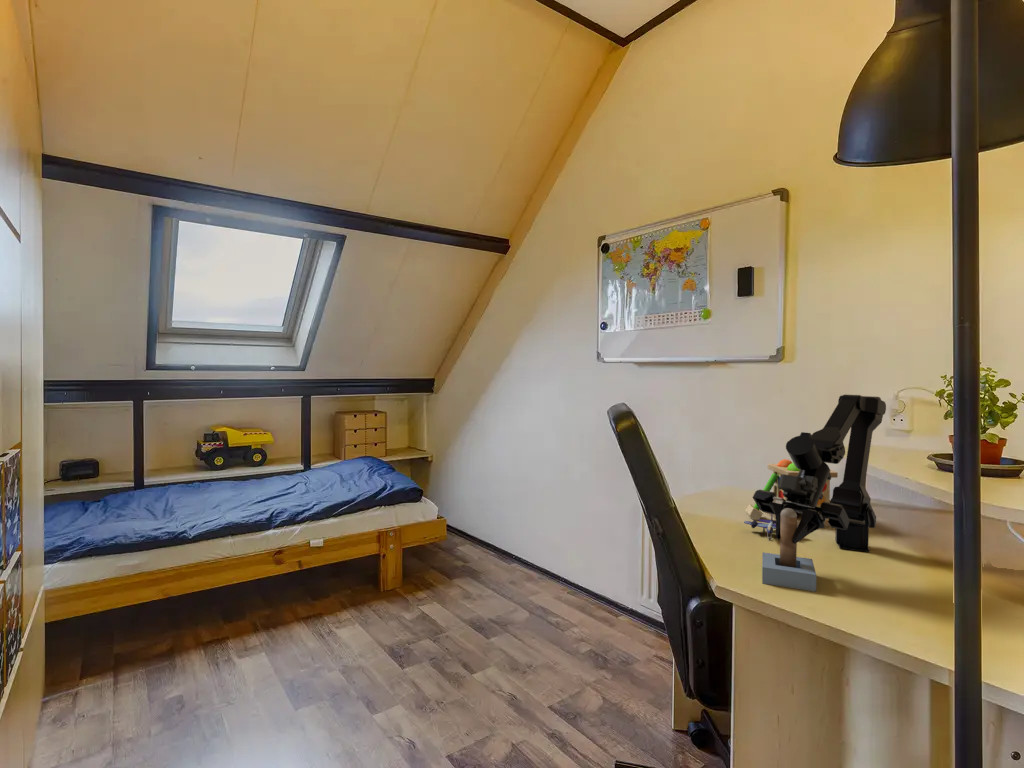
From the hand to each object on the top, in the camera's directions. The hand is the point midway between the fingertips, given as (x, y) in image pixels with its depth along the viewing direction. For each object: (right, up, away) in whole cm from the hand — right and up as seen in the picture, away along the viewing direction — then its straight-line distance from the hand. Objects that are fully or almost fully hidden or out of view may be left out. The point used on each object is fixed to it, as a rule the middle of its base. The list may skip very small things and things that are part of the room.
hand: (785, 540), depth 115 cm
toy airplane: (+12, -8, +30) cm, 34 cm away
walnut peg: (+1, -7, +1) cm, 7 cm away
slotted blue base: (+1, -9, +1) cm, 9 cm away
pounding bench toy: (+24, -8, +46) cm, 53 cm away
